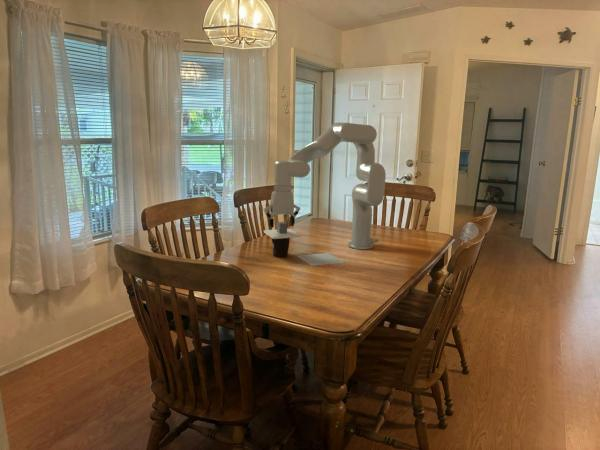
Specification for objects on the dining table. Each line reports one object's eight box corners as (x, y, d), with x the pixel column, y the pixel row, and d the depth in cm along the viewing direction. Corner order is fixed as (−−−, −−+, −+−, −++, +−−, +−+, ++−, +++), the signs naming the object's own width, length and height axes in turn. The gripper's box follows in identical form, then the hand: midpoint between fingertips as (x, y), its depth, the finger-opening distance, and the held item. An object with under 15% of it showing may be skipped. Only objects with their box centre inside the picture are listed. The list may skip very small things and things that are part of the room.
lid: (289, 230, 211) (290, 219, 210) (300, 236, 199) (300, 224, 198) (263, 232, 206) (263, 220, 205) (273, 238, 194) (273, 226, 193)
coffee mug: (287, 260, 198) (287, 238, 196) (268, 258, 200) (269, 236, 198) (293, 253, 209) (293, 232, 207) (275, 251, 211) (275, 231, 209)
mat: (327, 253, 210) (328, 252, 210) (344, 263, 195) (344, 262, 195) (296, 256, 203) (296, 255, 203) (311, 267, 189) (311, 265, 189)
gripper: (297, 187, 205) (296, 223, 208) (261, 188, 198) (260, 225, 201) (303, 189, 198) (302, 226, 202) (266, 190, 191) (266, 229, 195)
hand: (281, 226), depth 202 cm, fingers open, 9 cm apart
